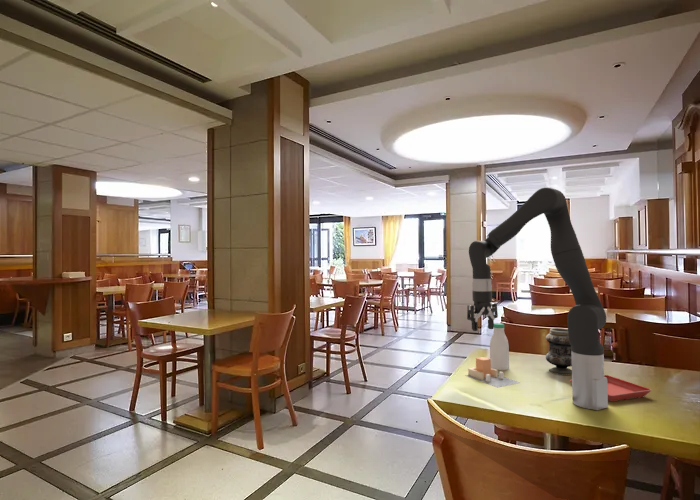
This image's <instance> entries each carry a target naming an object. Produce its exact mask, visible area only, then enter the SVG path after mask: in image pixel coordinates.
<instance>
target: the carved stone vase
mask: <svg viewBox="0 0 700 500" xmlns="http://www.w3.org/2000/svg"><path fill="white" fill-rule="evenodd" d="M545 340H546V341H547V343H548V353H546V354H545V360H546V361H547V363H549V364H551V365H553V366H555V367H550V368H549V369H548V372H550V373H551V374H555V375H559V376H560V375H561V376H572V368H571V369H570V368H569V367H572V355H571V345H570V343H569V338H568V328H564V327H551V328H550V329H549V333H547V334H546V335H545Z"/></svg>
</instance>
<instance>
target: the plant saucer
mask: <svg viewBox="0 0 700 500" xmlns="http://www.w3.org/2000/svg"><path fill="white" fill-rule="evenodd" d="M604 377H606V378H607V383H608V402H618V400H619V401H625V400H624V399H626V400H631V399H630V398H633V399H638V398H637V397H640V398H644V397H645V396H647V395H649V394H650V392H651V391H652V388H648V387H646V386H642V385H639V384H636V383H633V382H631V381H627V380H624V379H620V378H617V377H615V376H612V375H608V374H604ZM569 381H570V383H571V384H572V378H571V379H569ZM643 396H644V397H643Z"/></svg>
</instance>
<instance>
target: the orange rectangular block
mask: <svg viewBox="0 0 700 500" xmlns="http://www.w3.org/2000/svg"><path fill="white" fill-rule="evenodd" d="M475 367H476V370H477V371H480V372H482V373H484V378H486V374H489V375H490V377H491V359H490V357H489V358H488V357H486V356H481V357H476V358H475Z"/></svg>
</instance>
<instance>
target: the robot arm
mask: <svg viewBox="0 0 700 500" xmlns="http://www.w3.org/2000/svg"><path fill="white" fill-rule="evenodd" d="M567 203H568V202H567V199H566V196H565V195H564V193H563V192H562V191H561V190H559V189H555V188H552V187H548V186H547V187H545V186H544V187H541V188H539V189H538V190H536V191H535V192H534V193H533V194H532V195H531V196H530V197H529V198H528V199H527V200H526V201H525V202H524V203H523V204H522V205H521V206H520V207H519V208H518V209H517V210H516V211H515V212H514V213H512V214H511V215H510V216H509V217H508V218H507V219H505V220H504V221H502V222H501V223H500V224H499V225H497V226H496V227H495V228H493V229H492V230H490V232H489V233H488V234H487V235H488V236H487V237H486V238H485V239H484V240H474V241H473V242H471V243H470V245H469V247H468V255H469V260H470V264H471V268H472V285H471V286H472V289H471V292H472V302H473V305H471V304H467V310H466V311H467V312H466V313H467V314H466V319H467V320H468V321H470V322H471V330H472V331H473V332H478V325H479V323H478V321H479V318H480V317H482V316H484V315H485V316H486V317H487V328H488V330H494V329H493V327H494V323H495V322H494V320H495V319H497V318H498V317H499V315H498V314H499V313H498V304H497V303H494V302H492V301H493V285H492V275H491V274H492V273H491V272H492V271H491V266H490V264H488V263H487V260H486V258H489V257H491V256H492V255H494V254H495V253H496V252H498V250H499V249H500V248H501V247H502V246H504V245H505V244H506V243H507V242H509V241H511V240H512V239H513V238H514V237H516V236H517V235H518V234H519V233H520V231H522V229H523V228H524V227H525V226H526V225H527V224H528V223H529V222H531V221H532V220H533V219H535V218H537V217H538V216H541V215H542V214H544V216H545V218H546V222H547V224H548V226H549V231H550V253H551V256H552V260H553V263H554V266H555V268H556V270H557V273H558V275H559V276H560V277H561V278H562V280H563V281H564V282H565V284H566V285H567V286H568V288H569V289H570V290H569V291H570V292H571V294H572V296H573V299H574V304H575V305H574V306H572V307H571V308H570V309H569V310H568V313H567V319H566V320H567V322H566V323H567V329H568V338H569V343H570V345H571V355H572V366H571V370H572V375H571V379H572V383H571V384H572V385H571V390H572V391H571V394H572V395H571V397H572V403H573V405H575V406H577V407H580V408H584V409H587V410H588V409H589V410H594V411H599V410H600V411H601V410H603V409H607V408H609V401H608V383H607V378H606V377H604V375H605V357H604V355H605V351H604V350H605V349H604V346H603V344H602V343H600V340H599V330H601V329H603V327H604V326H605V325H606V323H607V314H606V310H605V308H604V306H603V305H602V302H601V300H600V297H599V295H598V293H597V291H596V289H595V285H594V284H593V281H592V278H591V274H590V271H589V268H588V265H587V263H586V260H585V256H584V253H583V250H582V247H581V245H580V242H579V240H578V237H577V234H576V231H575V228H574V227H573V225H572V222H571V221H572V220H571V217H570V213H569V206H568V204H567Z"/></svg>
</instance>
